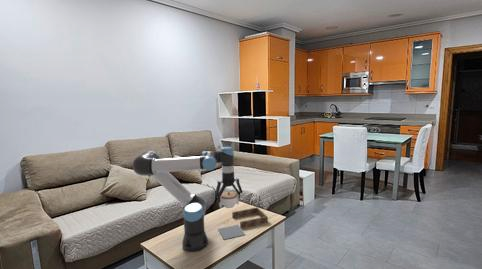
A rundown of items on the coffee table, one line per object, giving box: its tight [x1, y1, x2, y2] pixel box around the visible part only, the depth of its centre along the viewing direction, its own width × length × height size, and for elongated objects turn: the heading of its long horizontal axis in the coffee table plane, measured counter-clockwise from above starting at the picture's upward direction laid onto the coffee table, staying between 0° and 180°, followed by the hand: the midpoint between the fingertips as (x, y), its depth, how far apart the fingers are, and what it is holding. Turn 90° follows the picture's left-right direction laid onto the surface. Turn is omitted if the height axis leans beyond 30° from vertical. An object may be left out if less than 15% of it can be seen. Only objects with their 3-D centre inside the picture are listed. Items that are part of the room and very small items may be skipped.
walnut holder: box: [231, 207, 269, 229], centre depth 189 cm, size 20×17×4 cm
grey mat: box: [217, 224, 246, 241], centre depth 173 cm, size 14×14×1 cm
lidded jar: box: [221, 191, 237, 209], centre depth 171 cm, size 11×11×9 cm
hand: (229, 205), depth 171 cm, fingers closed on lidded jar, 11 cm apart
